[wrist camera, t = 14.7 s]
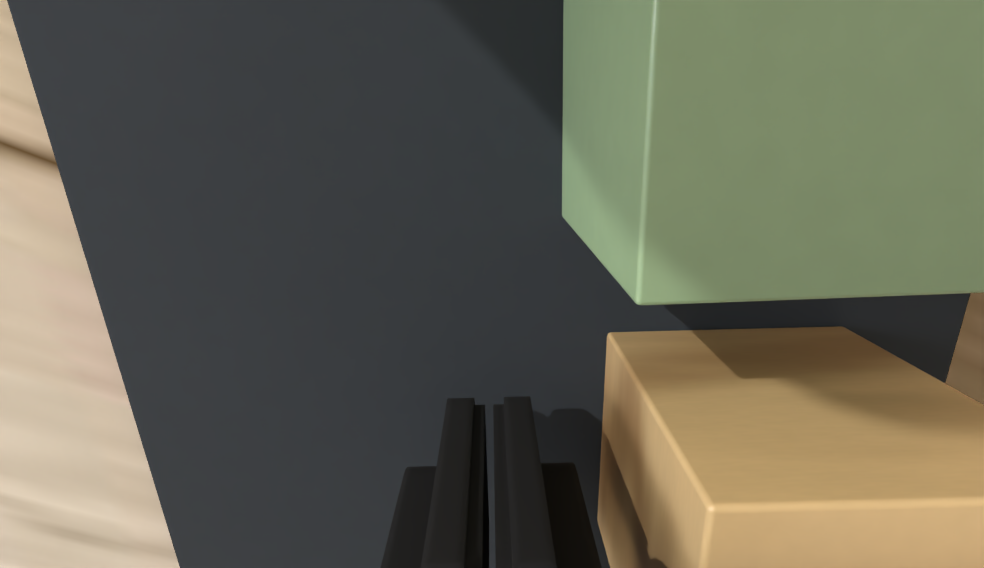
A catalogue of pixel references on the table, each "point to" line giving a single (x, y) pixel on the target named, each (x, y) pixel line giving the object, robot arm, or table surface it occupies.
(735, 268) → the green block
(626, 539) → the maple block
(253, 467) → the mat
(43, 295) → the table surface
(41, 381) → the table surface
